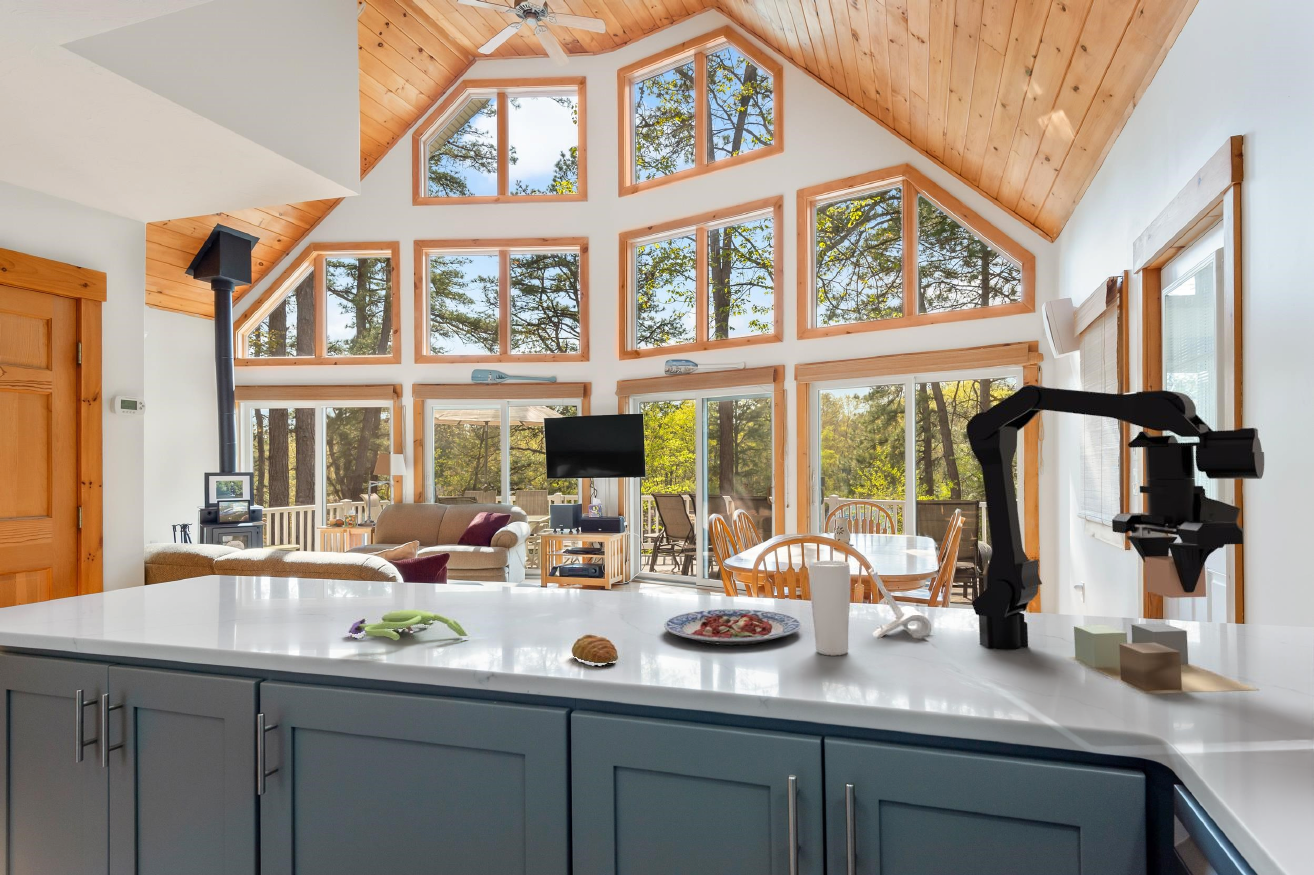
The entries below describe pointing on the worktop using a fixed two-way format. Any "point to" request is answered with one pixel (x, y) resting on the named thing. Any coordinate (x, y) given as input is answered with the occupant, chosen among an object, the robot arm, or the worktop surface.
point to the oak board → (1185, 680)
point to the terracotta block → (1169, 578)
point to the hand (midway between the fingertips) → (1175, 589)
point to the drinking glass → (830, 605)
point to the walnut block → (1150, 666)
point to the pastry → (594, 649)
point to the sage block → (1098, 645)
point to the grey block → (1162, 637)
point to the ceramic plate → (732, 626)
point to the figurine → (403, 623)
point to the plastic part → (901, 615)
